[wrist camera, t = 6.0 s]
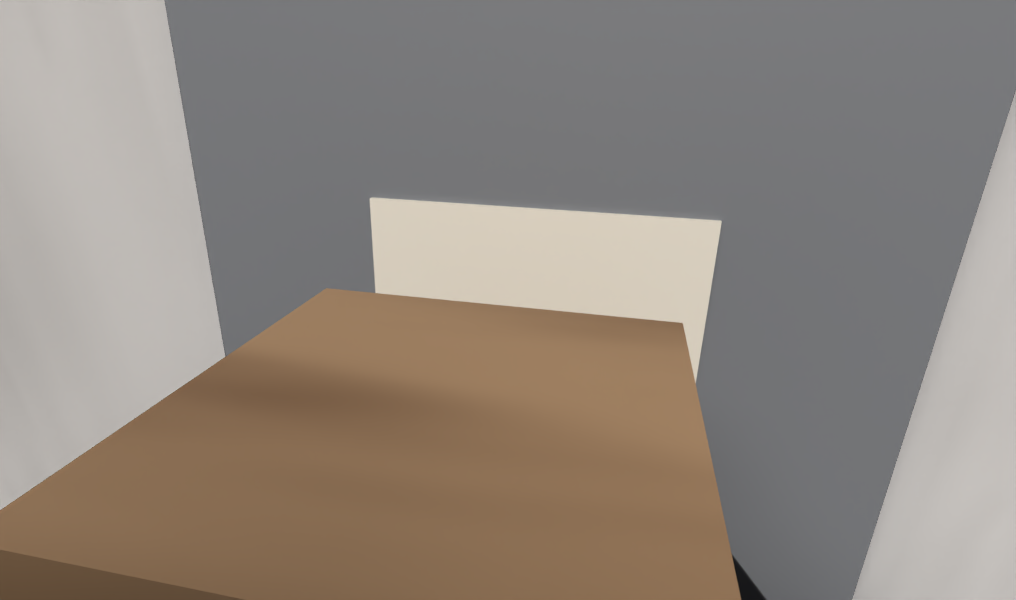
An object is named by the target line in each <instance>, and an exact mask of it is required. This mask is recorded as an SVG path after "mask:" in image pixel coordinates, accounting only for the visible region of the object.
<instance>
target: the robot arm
mask: <svg viewBox="0 0 1016 600" xmlns="http://www.w3.org/2000/svg"><path fill="white" fill-rule="evenodd" d="M731 554H732V553H731ZM732 558H733V563H734V568H735V572H736V577H737V582H738V587H739V591H740V596H741V600H767V599H766V598H765V597H764V595H763V594H762V593H761V591H760V590H759V589H758V587H757V586H756V585H755V583H754V582H753V581H752V579H751V578H750V577H749V576H748V574H747V573H746V572H745V570H744V569H743V568H742V566H741V565H740V564H739V562H738V561H737V560H736V558H735V557H734V556H733V554H732Z"/></svg>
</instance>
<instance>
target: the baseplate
mask: <svg viewBox="0 0 1016 600" xmlns="http://www.w3.org/2000/svg"><path fill="white" fill-rule="evenodd" d="M165 6H166V11H167V17H168V23H169V29H170V35H171V41H172V47H173V52H174V58H175V64H176V70H177V76H178V82H179V88H180V93H181V99H182V105H183V111H184V117H185V123H186V129H187V134H188V140H189V146H190V152H191V158H192V164H193V170H194V175H195V181H196V187H197V193H198V199H199V205H200V211H201V216H202V222H203V228H204V234H205V240H206V246H207V252H208V257H209V263H210V269H211V275H212V281H213V287H214V293H215V298H216V304H217V310H218V316H219V322H220V328H221V334H222V339H223V345H224V351H225V357H226V356H228V355H229V354H230V353H232V352H233V351H235V350H236V349H238V348H239V347H241V346H242V345H244V344H245V343H247V342H248V341H250V340H251V339H252V338H254V337H255V336H257V335H258V334H260V333H261V332H263V331H264V330H266V329H267V328H269V327H270V326H272V325H273V324H274V323H276V322H277V321H279V320H280V319H282V318H283V317H285V316H286V315H288V314H289V313H291V312H292V311H294V310H295V309H297V308H298V307H299V306H301V305H302V304H304V303H305V302H307V301H308V300H310V299H311V298H313V297H314V296H316V295H317V294H319V293H320V292H321V291H323V290H324V289H326V288H329V289H339V290H349V291H360V292H370V293H380V294H390V295H401V296H411V297H421V298H432V299H442V300H452V301H462V302H473V303H483V304H493V305H504V306H514V307H524V308H534V309H545V310H555V311H565V312H575V313H586V314H596V315H606V316H617V317H627V318H637V319H647V320H658V321H668V322H678V323H683V327H684V331H685V336H686V341H687V346H688V350H689V355H690V360H691V364H692V369H693V374H694V379H695V383H696V388H697V393H698V398H699V402H700V407H701V412H702V416H703V421H704V426H705V431H706V435H707V440H708V445H709V450H710V454H711V459H712V464H713V468H714V473H715V478H716V483H717V487H718V492H719V497H720V502H721V506H722V511H723V516H724V520H725V525H726V530H727V535H728V539H729V544H730V549H731V553H732V554H733V556H734V557H735V558H736V560H737V561H738V562H739V564H740V565H741V566H742V568H743V569H744V570H745V572H746V573H747V574H748V576H749V577H750V578H751V579H752V581H753V582H754V583H755V585H756V586H757V587H758V589H759V590H760V591H761V593H762V594H763V595H764V597H765V598H766V599H767V600H852V598H853V595H854V592H855V588H856V585H857V582H858V579H859V576H860V573H861V570H862V567H863V564H864V560H865V557H866V554H867V551H868V548H869V545H870V542H871V539H872V536H873V532H874V529H875V526H876V523H877V520H878V517H879V514H880V511H881V508H882V504H883V501H884V498H885V495H886V492H887V489H888V486H889V483H890V480H891V476H892V473H893V470H894V467H895V464H896V461H897V458H898V455H899V452H900V449H901V445H902V442H903V439H904V436H905V433H906V430H907V427H908V424H909V421H910V417H911V414H912V411H913V408H914V405H915V402H916V399H917V396H918V393H919V389H920V386H921V383H922V380H923V377H924V374H925V371H926V368H927V365H928V361H929V358H930V355H931V352H932V349H933V346H934V343H935V340H936V337H937V334H938V330H939V327H940V324H941V321H942V318H943V315H944V312H945V309H946V306H947V302H948V299H949V296H950V293H951V290H952V287H953V284H954V281H955V278H956V274H957V271H958V268H959V265H960V262H961V259H962V256H963V253H964V250H965V246H966V243H967V240H968V237H969V234H970V231H971V228H972V225H973V222H974V218H975V215H976V212H977V209H978V206H979V203H980V200H981V197H982V194H983V191H984V187H985V184H986V181H987V178H988V175H989V172H990V169H991V166H992V163H993V159H994V156H995V153H996V150H997V147H998V144H999V141H1000V138H1001V135H1002V131H1003V128H1004V125H1005V122H1006V119H1007V116H1008V113H1009V110H1010V107H1011V103H1012V100H1013V97H1014V94H1015V91H1016V0H165Z"/></svg>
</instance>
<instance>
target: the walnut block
mask: <svg viewBox="0 0 1016 600" xmlns="http://www.w3.org/2000/svg"><path fill="white" fill-rule="evenodd" d="M0 600H741V596H740V591H739V587H738V582H737V577H736V572H735V568H734V563H733V558H732V554H731V549H730V544H729V539H728V535H727V530H726V525H725V520H724V516H723V511H722V506H721V502H720V497H719V492H718V487H717V483H716V478H715V473H714V468H713V464H712V459H711V454H710V450H709V445H708V440H707V435H706V431H705V426H704V421H703V416H702V412H701V407H700V402H699V398H698V393H697V388H696V383H695V379H694V374H693V369H692V364H691V360H690V355H689V350H688V346H687V341H686V336H685V331H684V327H683V323H678V322H668V321H658V320H647V319H637V318H627V317H617V316H606V315H596V314H586V313H575V312H565V311H555V310H545V309H534V308H524V307H514V306H504V305H493V304H483V303H473V302H462V301H452V300H442V299H432V298H421V297H411V296H401V295H390V294H380V293H370V292H360V291H349V290H339V289H329V288H326V289H324V290H323V291H321V292H320V293H319V294H317V295H316V296H314V297H313V298H311V299H310V300H308V301H307V302H305V303H304V304H302V305H301V306H299V307H298V308H297V309H295V310H294V311H292V312H291V313H289V314H288V315H286V316H285V317H283V318H282V319H280V320H279V321H277V322H276V323H274V324H273V325H272V326H270V327H269V328H267V329H266V330H264V331H263V332H261V333H260V334H258V335H257V336H255V337H254V338H252V339H251V340H250V341H248V342H247V343H245V344H244V345H242V346H241V347H239V348H238V349H236V350H235V351H233V352H232V353H230V354H229V355H228V356H226V357H225V358H223V359H222V360H220V361H219V362H217V363H216V364H214V365H213V366H211V367H210V368H208V369H207V370H206V371H204V372H203V373H201V374H200V375H198V376H197V377H195V378H194V379H192V380H191V381H189V382H188V383H186V384H185V385H183V386H182V387H181V388H179V389H178V390H176V391H175V392H173V393H172V394H170V395H169V396H167V397H166V398H164V399H163V400H161V401H160V402H159V403H157V404H156V405H154V406H153V407H151V408H150V409H148V410H147V411H145V412H144V413H142V414H141V415H139V416H138V417H137V418H135V419H134V420H132V421H131V422H129V423H128V424H126V425H125V426H123V427H122V428H120V429H119V430H117V431H116V432H114V433H113V434H112V435H110V436H109V437H107V438H106V439H104V440H103V441H101V442H100V443H98V444H97V445H95V446H94V447H92V448H91V449H90V450H88V451H87V452H85V453H84V454H82V455H81V456H79V457H78V458H76V459H75V460H73V461H72V462H70V463H69V464H68V465H66V466H65V467H63V468H62V469H60V470H59V471H57V472H56V473H54V474H53V475H51V476H50V477H48V478H47V479H46V480H44V481H43V482H41V483H40V484H38V485H37V486H35V487H34V488H32V489H31V490H29V491H28V492H26V493H25V494H23V495H22V496H21V497H19V498H18V499H16V500H15V501H13V502H12V503H10V504H9V505H7V506H6V507H4V508H3V509H1V510H0Z"/></svg>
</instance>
